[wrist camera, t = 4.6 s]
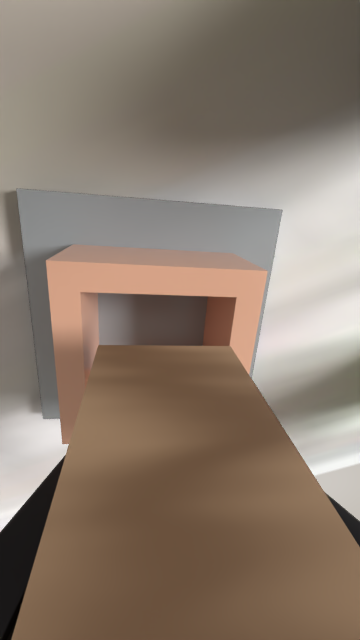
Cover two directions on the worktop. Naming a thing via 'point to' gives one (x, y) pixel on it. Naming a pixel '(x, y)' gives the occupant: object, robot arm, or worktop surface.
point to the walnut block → (187, 514)
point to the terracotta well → (138, 281)
